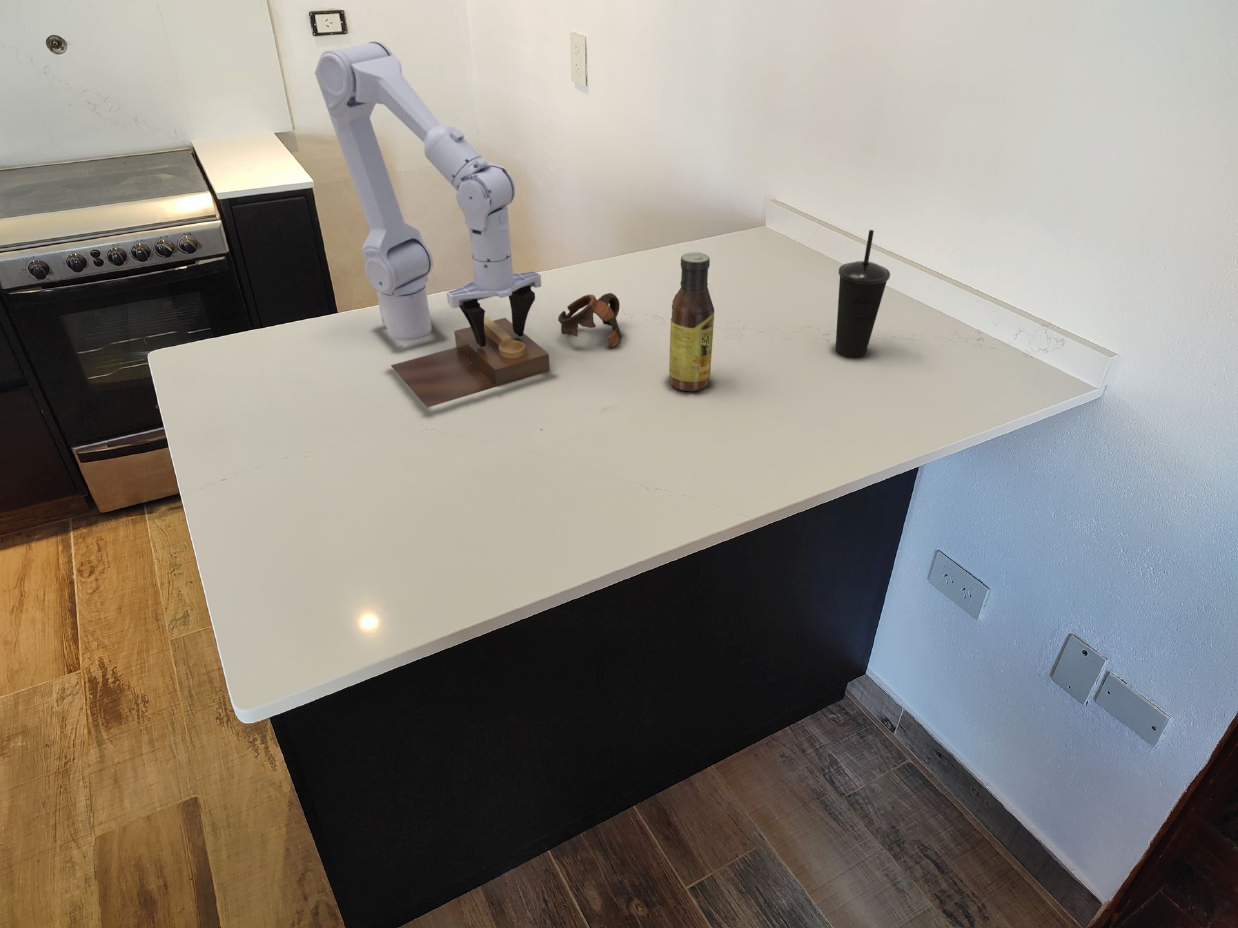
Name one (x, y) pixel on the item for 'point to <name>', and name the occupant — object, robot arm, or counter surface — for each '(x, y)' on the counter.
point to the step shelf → (470, 367)
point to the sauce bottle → (691, 326)
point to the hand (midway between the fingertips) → (499, 339)
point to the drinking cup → (858, 303)
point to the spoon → (503, 340)
